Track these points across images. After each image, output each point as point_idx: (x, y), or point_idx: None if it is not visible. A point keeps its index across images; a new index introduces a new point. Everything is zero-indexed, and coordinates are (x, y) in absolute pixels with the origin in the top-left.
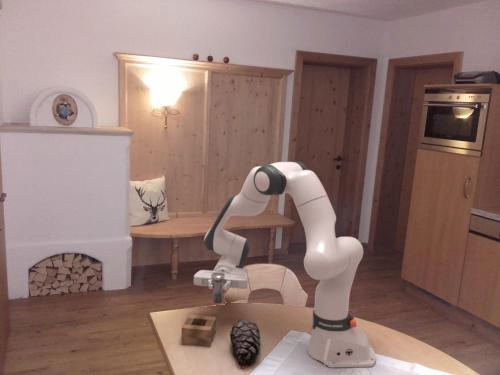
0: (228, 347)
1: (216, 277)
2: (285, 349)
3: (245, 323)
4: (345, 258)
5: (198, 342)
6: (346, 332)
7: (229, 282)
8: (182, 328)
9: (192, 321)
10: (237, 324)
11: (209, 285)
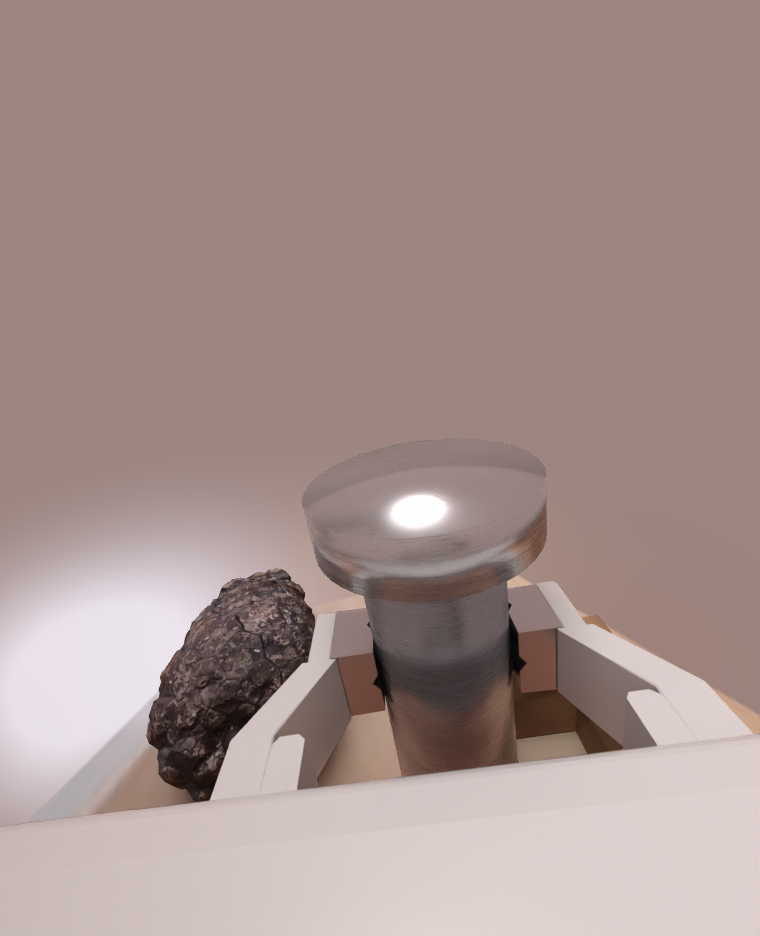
0: (351, 730)
1: (413, 442)
2: (47, 802)
3: (227, 616)
4: None
5: None
6: None
7: (250, 726)
8: (592, 618)
9: None
10: (274, 624)
11: (547, 584)
